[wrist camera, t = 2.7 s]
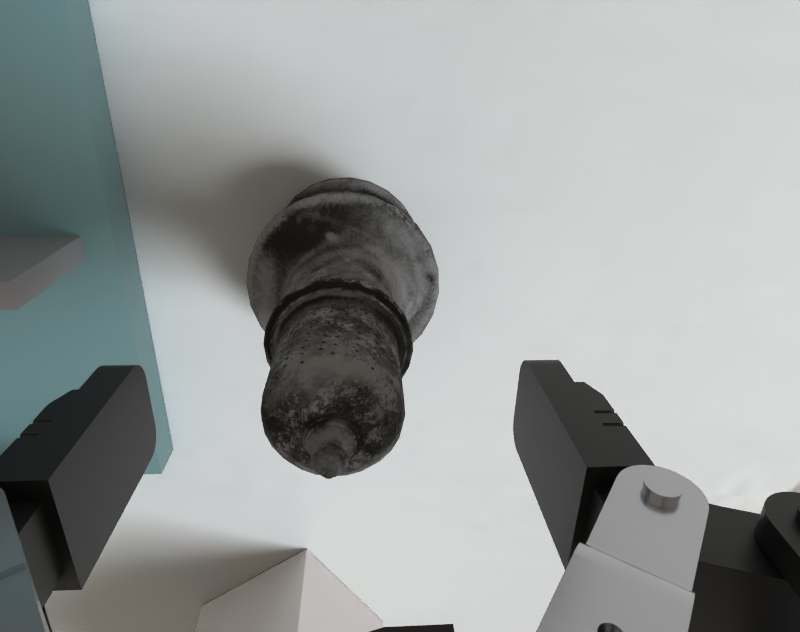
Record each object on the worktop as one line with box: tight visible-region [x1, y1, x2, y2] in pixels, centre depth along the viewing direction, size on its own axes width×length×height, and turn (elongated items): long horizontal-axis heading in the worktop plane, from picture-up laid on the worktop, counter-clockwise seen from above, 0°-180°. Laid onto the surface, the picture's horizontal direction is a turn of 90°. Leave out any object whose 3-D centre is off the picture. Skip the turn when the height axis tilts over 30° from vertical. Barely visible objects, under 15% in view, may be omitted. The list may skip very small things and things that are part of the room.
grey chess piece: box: [247, 178, 439, 479], centre depth 15 cm, size 6×6×12 cm
